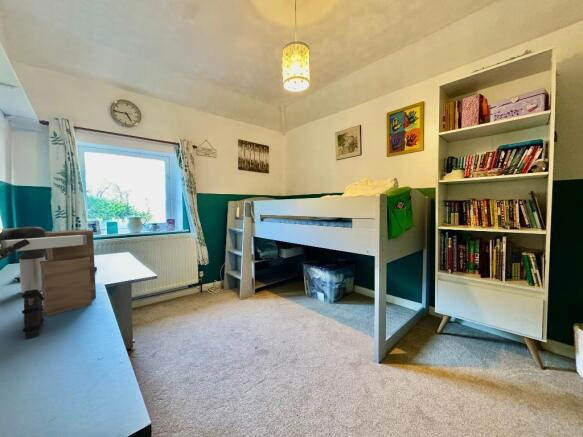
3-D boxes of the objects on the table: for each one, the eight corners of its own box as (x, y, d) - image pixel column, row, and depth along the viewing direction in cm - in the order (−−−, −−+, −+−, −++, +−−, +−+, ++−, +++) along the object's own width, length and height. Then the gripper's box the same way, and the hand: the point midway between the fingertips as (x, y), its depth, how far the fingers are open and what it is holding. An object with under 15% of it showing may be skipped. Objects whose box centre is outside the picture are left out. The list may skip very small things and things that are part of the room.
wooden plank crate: (35, 304, 108) (31, 232, 106) (88, 292, 122) (85, 229, 121) (46, 316, 95) (41, 235, 94) (103, 301, 110) (99, 231, 109)
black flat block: (20, 339, 76) (22, 291, 80) (29, 341, 85) (30, 298, 89) (38, 335, 78) (38, 288, 82) (44, 337, 87) (44, 295, 92)
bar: (0, 251, 89) (0, 240, 89) (83, 243, 109) (83, 234, 109) (2, 252, 87) (1, 241, 87) (86, 244, 106) (86, 235, 106)
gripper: (-47, 265, 76) (22, 233, 87) (-47, 259, 84) (16, 231, 96) (-26, 282, 79) (38, 250, 91) (-28, 275, 87) (31, 246, 99)
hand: (26, 240), depth 93 cm, fingers closed on bar, 4 cm apart
